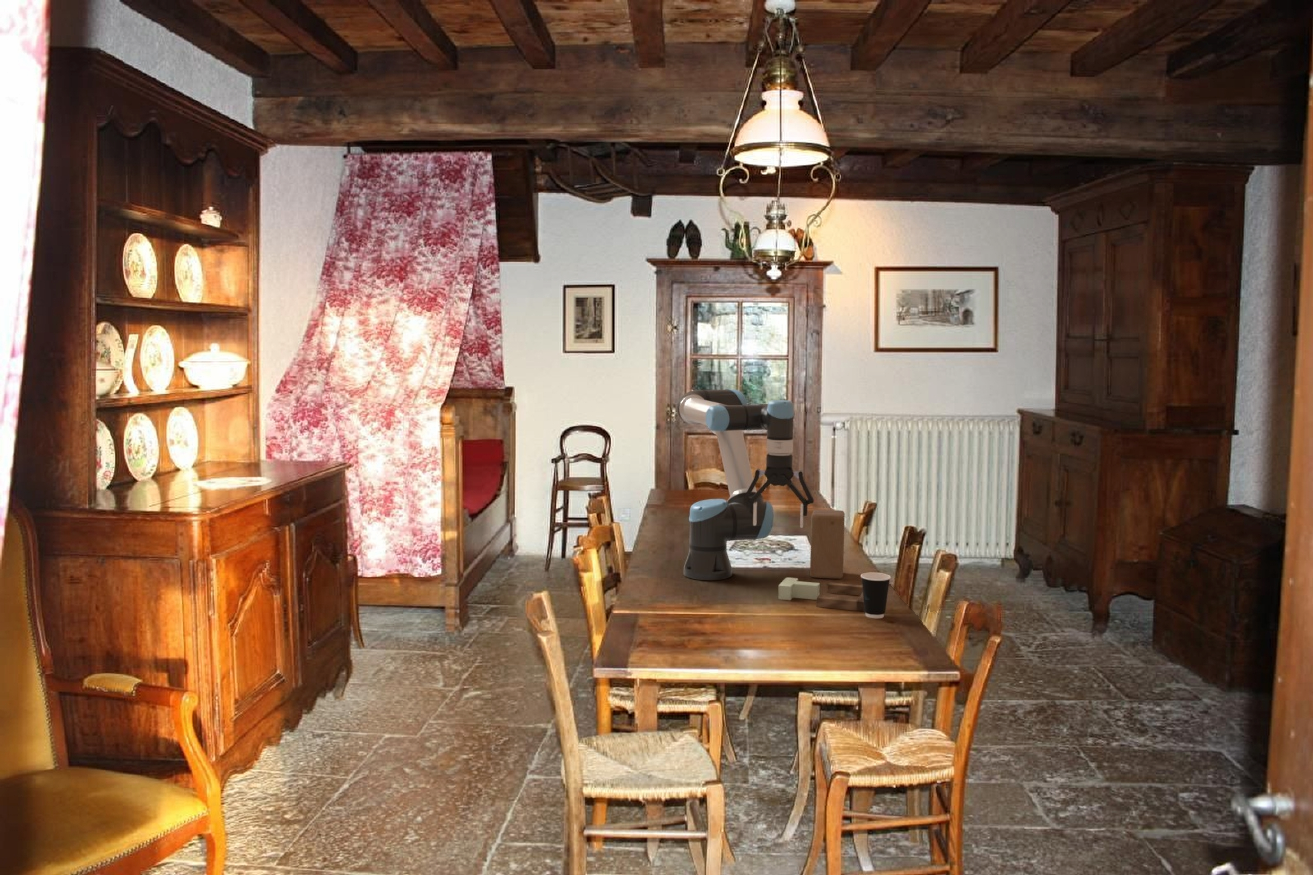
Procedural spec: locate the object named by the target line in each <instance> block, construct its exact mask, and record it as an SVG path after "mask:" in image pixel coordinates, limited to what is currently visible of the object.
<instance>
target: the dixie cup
mask: <svg viewBox="0 0 1313 875" xmlns="http://www.w3.org/2000/svg"><path fill="white" fill-rule="evenodd" d="M860 578H861V586H862V588H863V600H864V611H863V612H864V613H865V617H866V618H869V619H883V618H884V616H885V614H886V609H887V600H888V593H889V586H890V581H891V580H890V579H892V578H891V575H890V574H888V573H883V572H865V573H861V574H860Z"/></svg>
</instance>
